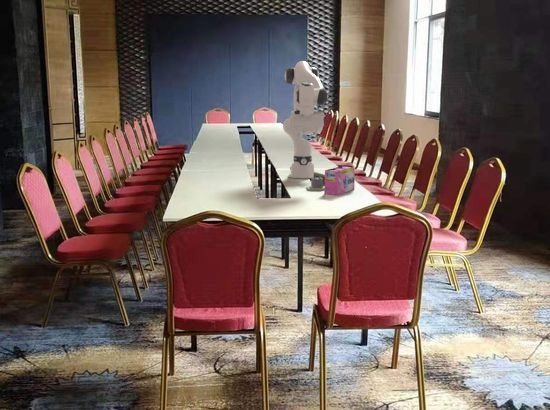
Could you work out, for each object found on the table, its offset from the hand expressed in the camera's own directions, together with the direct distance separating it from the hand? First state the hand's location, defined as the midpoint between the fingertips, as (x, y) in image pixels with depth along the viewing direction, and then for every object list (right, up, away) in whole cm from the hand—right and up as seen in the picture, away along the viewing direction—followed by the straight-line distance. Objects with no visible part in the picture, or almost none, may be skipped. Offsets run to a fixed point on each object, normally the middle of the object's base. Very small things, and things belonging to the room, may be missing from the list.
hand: (306, 135), depth 350 cm
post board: (+9, -32, -1) cm, 33 cm away
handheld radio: (+10, -28, +18) cm, 35 cm away
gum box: (+19, -34, -8) cm, 39 cm away
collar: (+6, -30, +1) cm, 31 cm away
